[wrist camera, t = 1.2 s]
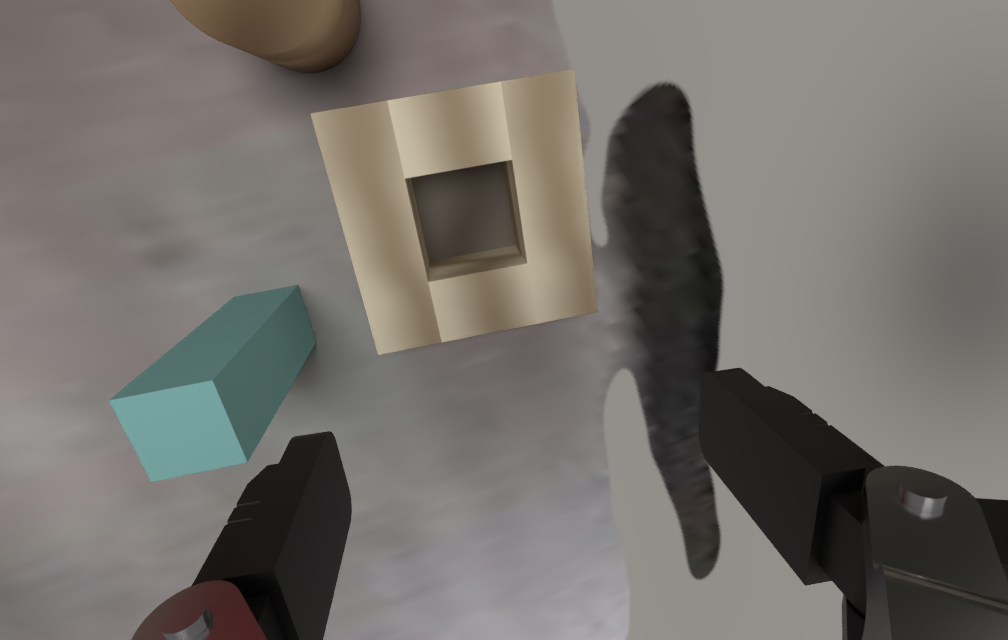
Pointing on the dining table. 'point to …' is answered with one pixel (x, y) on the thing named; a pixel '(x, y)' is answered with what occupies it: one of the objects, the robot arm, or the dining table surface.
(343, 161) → the socket block
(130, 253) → the dining table surface
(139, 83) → the dining table surface
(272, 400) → the square peg
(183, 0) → the tan cylinder
